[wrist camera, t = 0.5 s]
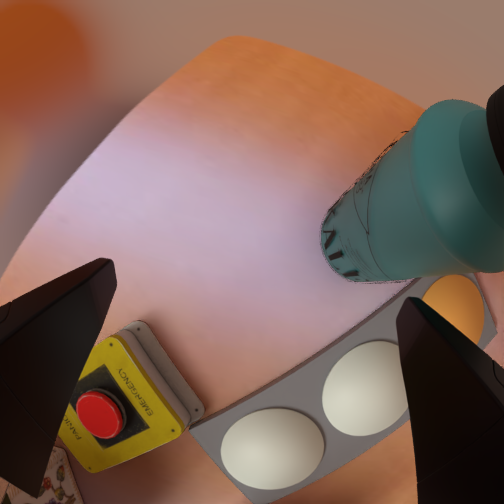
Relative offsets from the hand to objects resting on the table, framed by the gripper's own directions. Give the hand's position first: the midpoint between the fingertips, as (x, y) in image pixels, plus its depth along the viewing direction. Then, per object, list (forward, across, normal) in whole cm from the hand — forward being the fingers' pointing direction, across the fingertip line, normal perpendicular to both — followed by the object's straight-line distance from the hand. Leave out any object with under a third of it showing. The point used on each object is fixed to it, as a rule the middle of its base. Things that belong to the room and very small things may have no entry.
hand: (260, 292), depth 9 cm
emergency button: (+5, +11, +18) cm, 22 cm away
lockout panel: (+7, -10, +14) cm, 19 cm away
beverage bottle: (+14, -7, +5) cm, 17 cm away
